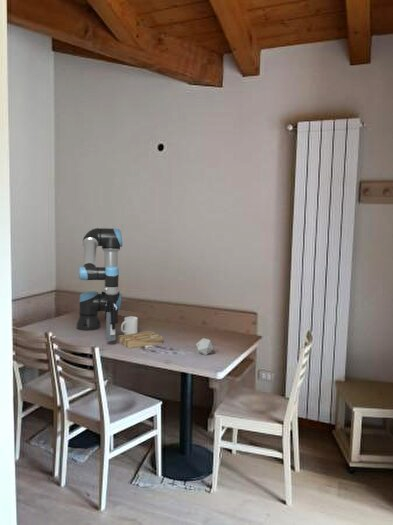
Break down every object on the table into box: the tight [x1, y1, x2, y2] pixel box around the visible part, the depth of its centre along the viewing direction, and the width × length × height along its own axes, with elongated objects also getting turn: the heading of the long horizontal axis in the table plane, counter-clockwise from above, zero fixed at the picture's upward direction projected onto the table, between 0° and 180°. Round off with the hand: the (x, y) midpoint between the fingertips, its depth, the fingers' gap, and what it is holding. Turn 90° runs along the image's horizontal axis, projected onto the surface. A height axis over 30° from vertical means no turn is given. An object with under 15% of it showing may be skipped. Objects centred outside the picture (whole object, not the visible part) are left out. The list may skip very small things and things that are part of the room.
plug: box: [105, 312, 117, 342], centre depth 267 cm, size 4×4×16 cm
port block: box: [117, 330, 164, 349], centre depth 274 cm, size 14×22×4 cm, turn 126°
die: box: [195, 337, 214, 356], centre depth 258 cm, size 8×9×10 cm
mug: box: [120, 316, 139, 335], centre depth 290 cm, size 12×8×10 cm
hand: (110, 333), depth 267 cm, fingers closed on plug, 4 cm apart
